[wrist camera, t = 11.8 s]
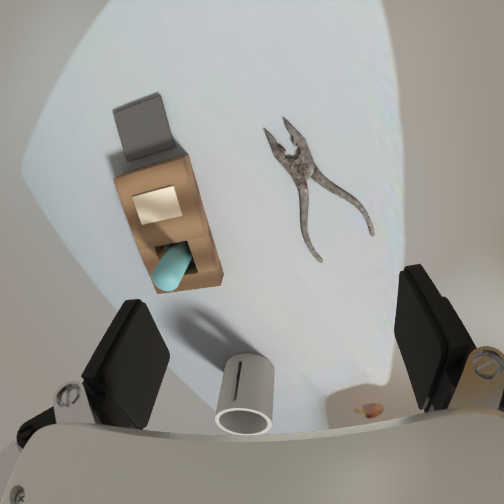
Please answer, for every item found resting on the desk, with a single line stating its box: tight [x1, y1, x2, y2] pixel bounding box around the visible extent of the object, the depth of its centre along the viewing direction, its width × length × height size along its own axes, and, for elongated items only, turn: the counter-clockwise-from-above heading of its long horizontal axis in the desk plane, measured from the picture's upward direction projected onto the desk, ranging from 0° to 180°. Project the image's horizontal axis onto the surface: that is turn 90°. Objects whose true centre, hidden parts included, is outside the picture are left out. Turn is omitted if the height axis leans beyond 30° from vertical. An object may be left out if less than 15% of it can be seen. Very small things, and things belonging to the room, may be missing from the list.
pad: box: [114, 96, 175, 161], centre depth 37 cm, size 7×7×1 cm
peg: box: [152, 241, 193, 291], centre depth 41 cm, size 4×4×8 cm
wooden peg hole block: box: [113, 154, 224, 294], centre depth 42 cm, size 18×10×3 cm, turn 13°
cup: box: [215, 353, 274, 435], centre depth 50 cm, size 9×9×12 cm
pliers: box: [266, 121, 375, 263], centre depth 40 cm, size 10×1×20 cm
